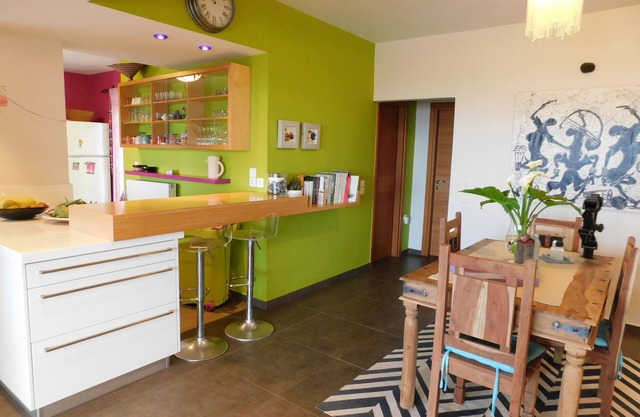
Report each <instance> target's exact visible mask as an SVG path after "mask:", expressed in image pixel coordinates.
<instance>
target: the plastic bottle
mask: <svg viewBox="0 0 640 417" xmlns="http://www.w3.org/2000/svg"><path fill="white" fill-rule="evenodd" d="M531 238H532V239H534V240H535V247H534V256H533V259H536V260H537V261H538V266H539V265H540V260H539V259H540V258H539V256H540V255H539V254H540V250H541V249H540V248H541V246H542V243H541V240H540V234H539V233H532V235H531Z"/></svg>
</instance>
